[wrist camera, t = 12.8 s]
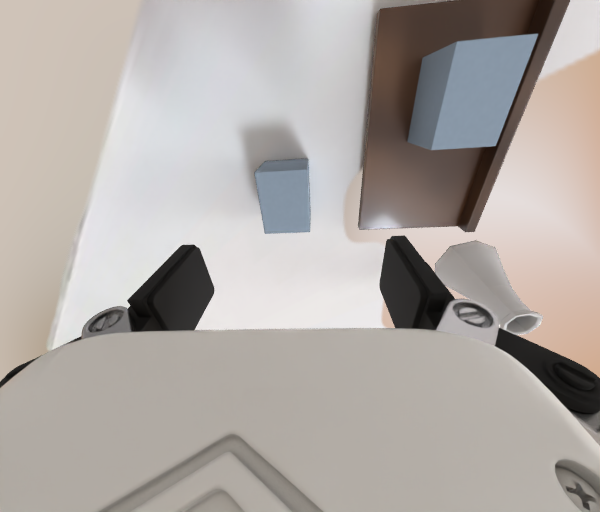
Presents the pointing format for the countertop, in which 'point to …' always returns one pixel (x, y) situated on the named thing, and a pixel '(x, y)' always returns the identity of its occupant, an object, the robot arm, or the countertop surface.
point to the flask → (485, 284)
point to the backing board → (400, 102)
